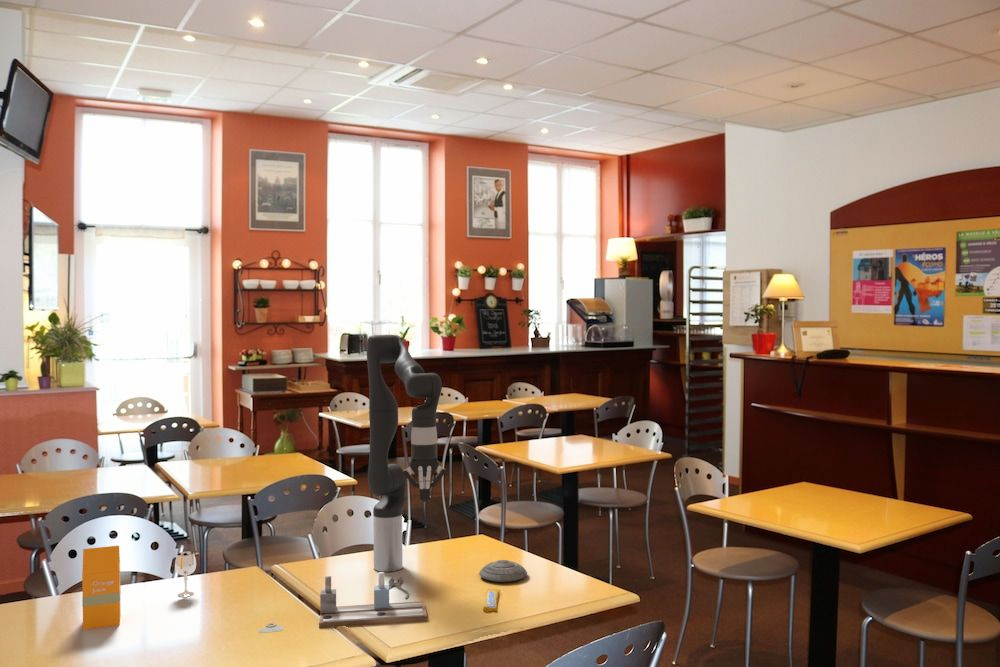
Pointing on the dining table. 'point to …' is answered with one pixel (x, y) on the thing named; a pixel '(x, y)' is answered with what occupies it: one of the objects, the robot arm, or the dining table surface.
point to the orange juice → (101, 587)
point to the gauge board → (365, 611)
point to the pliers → (398, 585)
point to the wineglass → (185, 568)
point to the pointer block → (381, 593)
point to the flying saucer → (503, 571)
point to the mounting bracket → (271, 628)
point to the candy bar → (491, 600)
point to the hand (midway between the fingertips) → (424, 501)
